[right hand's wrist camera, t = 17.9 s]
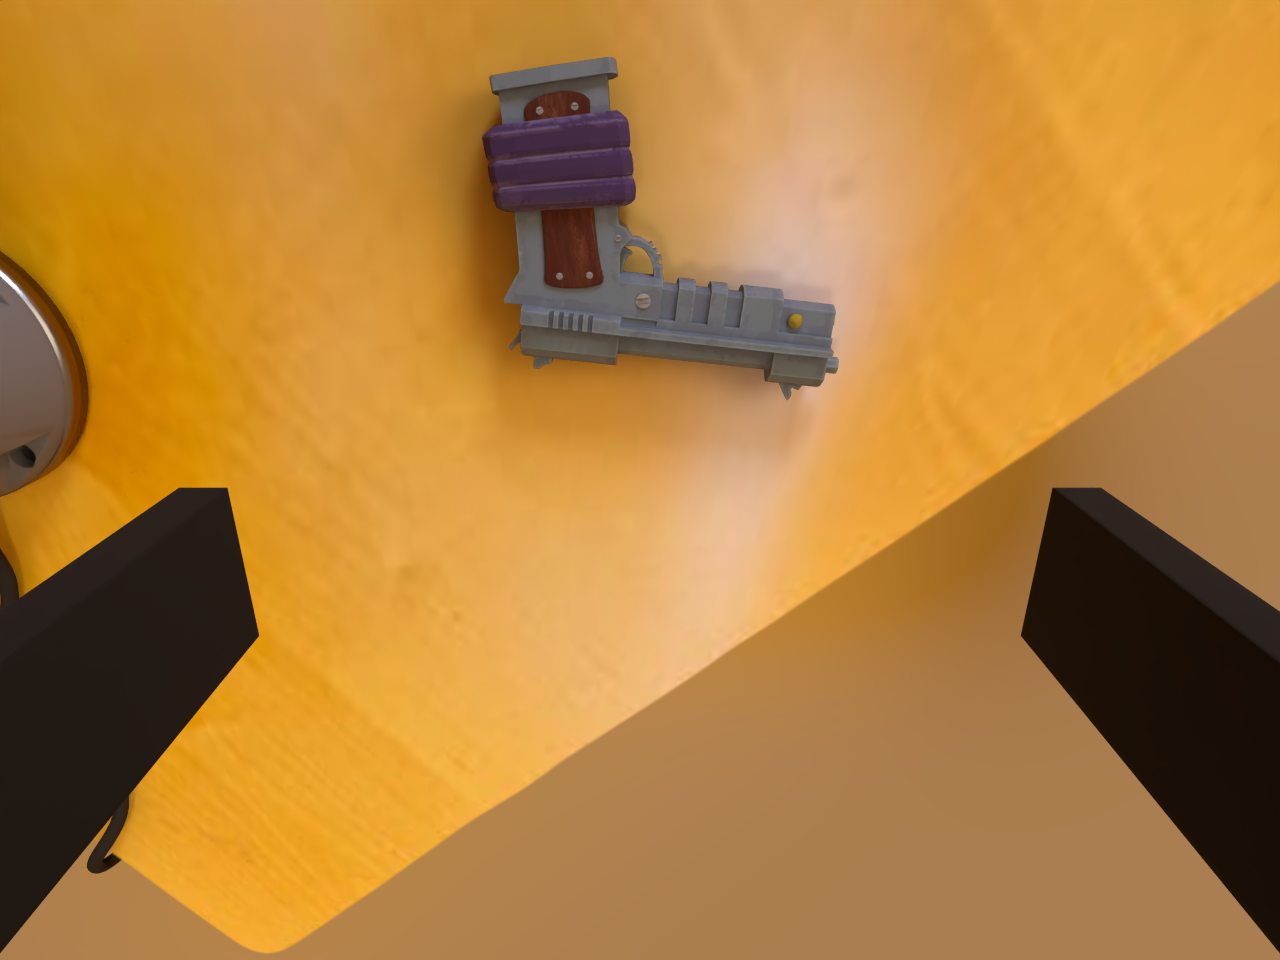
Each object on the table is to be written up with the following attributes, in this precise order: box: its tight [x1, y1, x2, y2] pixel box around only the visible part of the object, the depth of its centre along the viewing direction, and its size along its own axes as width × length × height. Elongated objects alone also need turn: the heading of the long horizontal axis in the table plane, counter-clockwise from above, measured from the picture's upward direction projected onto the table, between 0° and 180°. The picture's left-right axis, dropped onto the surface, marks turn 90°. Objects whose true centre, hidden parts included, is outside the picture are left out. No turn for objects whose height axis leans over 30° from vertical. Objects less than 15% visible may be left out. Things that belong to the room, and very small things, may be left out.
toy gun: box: [482, 57, 839, 400], centre depth 38 cm, size 4×19×15 cm
